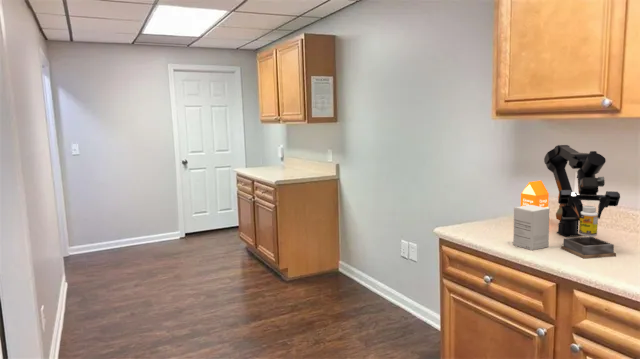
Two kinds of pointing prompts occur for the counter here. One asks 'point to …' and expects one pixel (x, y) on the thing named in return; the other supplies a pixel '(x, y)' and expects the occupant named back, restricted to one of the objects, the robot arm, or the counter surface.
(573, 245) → the tray
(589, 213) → the supplement bottle
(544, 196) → the orange juice
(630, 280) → the counter surface
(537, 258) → the counter surface
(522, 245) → the supplement box
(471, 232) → the counter surface
